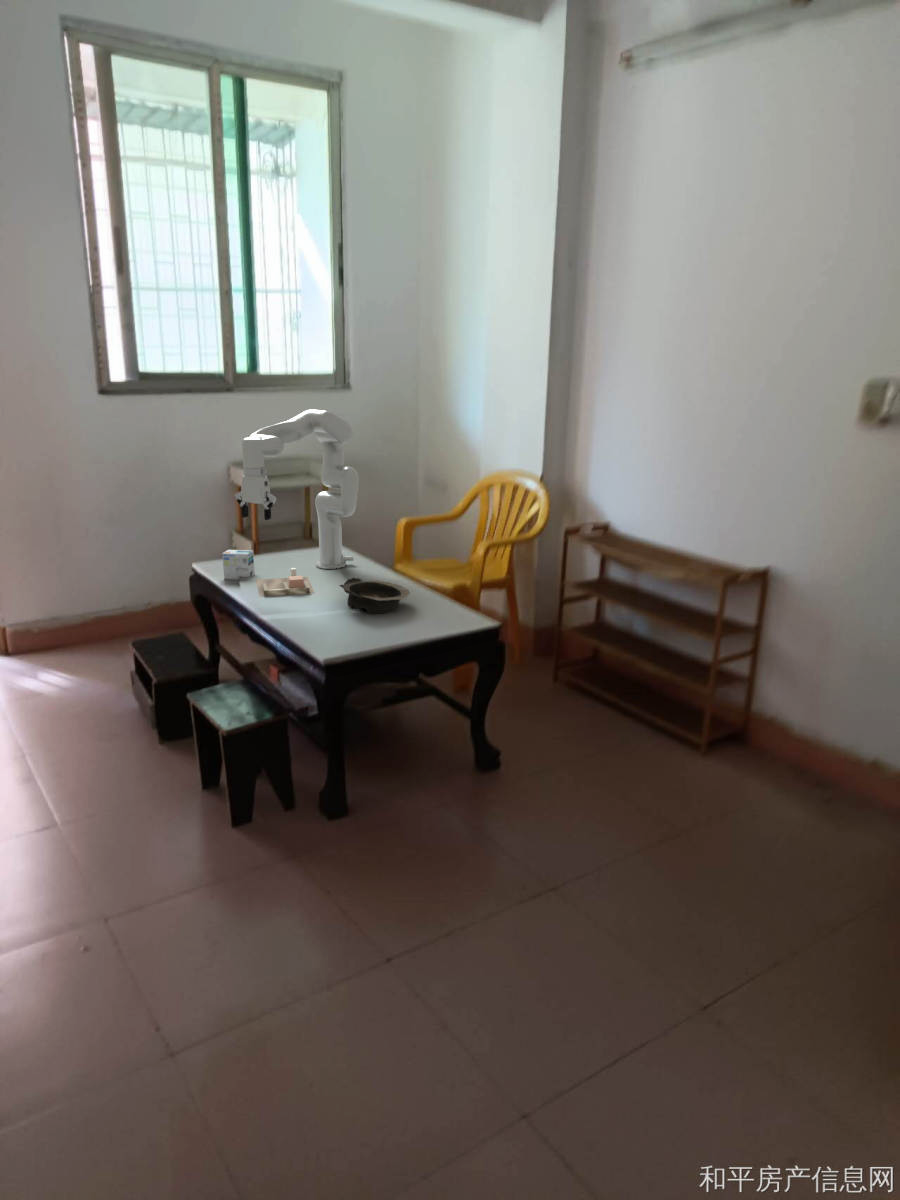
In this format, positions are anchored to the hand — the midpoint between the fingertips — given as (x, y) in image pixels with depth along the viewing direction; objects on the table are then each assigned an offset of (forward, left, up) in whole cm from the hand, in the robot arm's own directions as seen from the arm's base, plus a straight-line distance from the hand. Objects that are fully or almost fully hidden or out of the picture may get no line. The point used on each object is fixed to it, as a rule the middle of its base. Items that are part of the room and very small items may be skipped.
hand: (256, 518), depth 306 cm
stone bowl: (-39, +30, -28) cm, 57 cm away
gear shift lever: (-13, +5, -26) cm, 30 cm away
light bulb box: (+7, -19, -28) cm, 35 cm away
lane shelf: (-9, +2, -28) cm, 29 cm away
